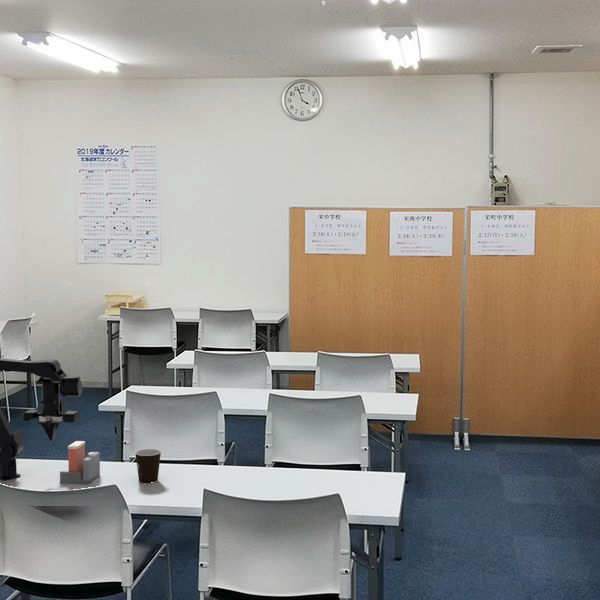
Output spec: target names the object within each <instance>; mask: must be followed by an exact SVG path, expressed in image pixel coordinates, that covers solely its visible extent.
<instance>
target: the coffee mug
mask: <svg viewBox="0 0 600 600" xmlns="http://www.w3.org/2000/svg"><path fill="white" fill-rule="evenodd" d="M161 453H162V452H161V450H159V449H156V448H143V449H140V450H137V451H135V454H134V455H135V461H136V469H137V476H138V482H139V483H140V482H141V483H140V484H144V483H150V484H152V483H151V482H155V481H157V480H158V481H159V473H160V472H159V471H160V463H161ZM158 481H157V482H158ZM155 483H156V482H155Z"/></svg>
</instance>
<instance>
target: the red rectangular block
mask: <svg viewBox="0 0 600 600" xmlns="http://www.w3.org/2000/svg"><path fill="white" fill-rule="evenodd" d="M85 445H86V440H85V441H84V440H75V441H74V442H72V443H71V444H69V445H68V446H67V452H68V454H67V455H68V471H71V472H82V474H83V460H84V459H85V458H86V450H85V449H86V448H85V447H86V446H85Z"/></svg>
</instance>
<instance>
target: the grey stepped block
mask: <svg viewBox="0 0 600 600" xmlns="http://www.w3.org/2000/svg"><path fill="white" fill-rule="evenodd" d="M100 460H101V459H100V451H91V452H87V456H86V457H85V459H84V460H83V474H82V472H71V471H69V470H68V471H66V470H65V471H64V470H61V471H59V484H61V485H84V486H85V485H86V486H87V485H88V486H89V485H91V484H92V483H93V482H94V481H95V480H97V479H98V478H99V477H100V476H101V469H100V468H101V461H100Z"/></svg>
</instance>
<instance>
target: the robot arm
mask: <svg viewBox="0 0 600 600" xmlns="http://www.w3.org/2000/svg"><path fill="white" fill-rule="evenodd" d="M0 371H4V372H17V373H26V374H27V373H28V374H33V375H35V376H36V377H39V379H38V380H37V381H35V384H36V385H41V397H42V398H41V400H40V404H42V405H41V406H42V411H40V410H39V409H29V410H27V411H25V412H23V414H22V416H21V420H22V422H32V421H33V419H38V420H39V421H38V422H37V424H38V425H39V424H40V425H41V427H42V429H43V430H44V432H45V434H46V436H47V437H48V440H49V441H50V442H52V441H54V440H55V436H56V433H57V431H58V428H59V426H60V424H62V423H63V422H64V423H76V422H77V421H79V420H80V419H81V414H80V412H79V411H77V410H68V411H67V405H68V404H67V402H63V401H62V397H60V395H62V396H63V397H81V396H82V393H83V384H82V380H81V377H80V376H68V375H67V374H66V373H65V371H64V370H63V369H62V368H61V363H60V362H59V360H57V359H41V360H23V359H12V358H3V357H0ZM24 441H25V439H24V438H23V436H22V434H21V431H20V430H19V429H17V430H16V431H15V430H14V429H13V428H12V427H11V425H10V423H9V421H8V419H7V417H6V415H5V414H4V412H3V409H2V408H1V406H0V480H2V481H8V480H10V479H14V478H18V477H21V476H22V475H21V474H20V473H17V468H18V467H17V457H18V456H19V454H20V452H22V451H23V449H24V447H25V443H24Z"/></svg>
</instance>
